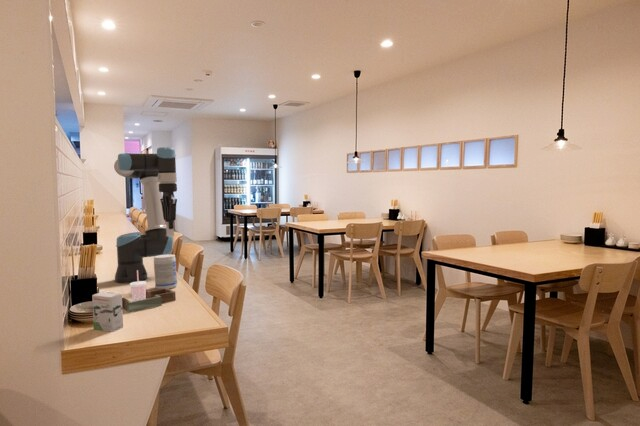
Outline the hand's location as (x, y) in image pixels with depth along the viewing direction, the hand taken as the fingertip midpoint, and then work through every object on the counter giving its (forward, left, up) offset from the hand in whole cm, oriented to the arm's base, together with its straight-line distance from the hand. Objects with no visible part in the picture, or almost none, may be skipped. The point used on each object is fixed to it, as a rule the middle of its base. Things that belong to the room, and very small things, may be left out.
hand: (170, 236), depth 191 cm
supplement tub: (-8, 0, -25) cm, 26 cm away
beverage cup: (+13, -19, -25) cm, 34 cm away
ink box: (+34, -36, -25) cm, 55 cm away
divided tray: (+10, -19, -24) cm, 33 cm away
